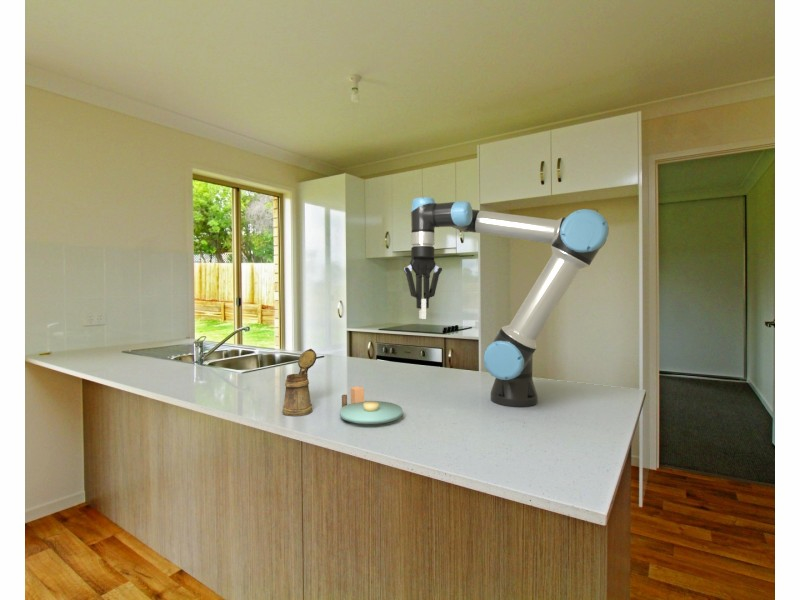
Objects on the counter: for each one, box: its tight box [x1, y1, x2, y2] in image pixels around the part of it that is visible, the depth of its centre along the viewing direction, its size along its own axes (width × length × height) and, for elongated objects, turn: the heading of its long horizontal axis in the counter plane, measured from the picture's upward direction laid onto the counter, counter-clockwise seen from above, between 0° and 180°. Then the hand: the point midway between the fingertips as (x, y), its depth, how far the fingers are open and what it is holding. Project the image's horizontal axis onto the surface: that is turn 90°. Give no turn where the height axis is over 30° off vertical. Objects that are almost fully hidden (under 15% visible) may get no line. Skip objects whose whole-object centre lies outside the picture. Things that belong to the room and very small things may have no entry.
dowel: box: [341, 394, 348, 408], centre depth 132 cm, size 2×2×5 cm
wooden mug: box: [281, 348, 318, 417], centre depth 133 cm, size 9×14×18 cm, turn 163°
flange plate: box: [339, 385, 403, 425], centre depth 127 cm, size 18×21×5 cm
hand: (422, 318), depth 142 cm, fingers closed
